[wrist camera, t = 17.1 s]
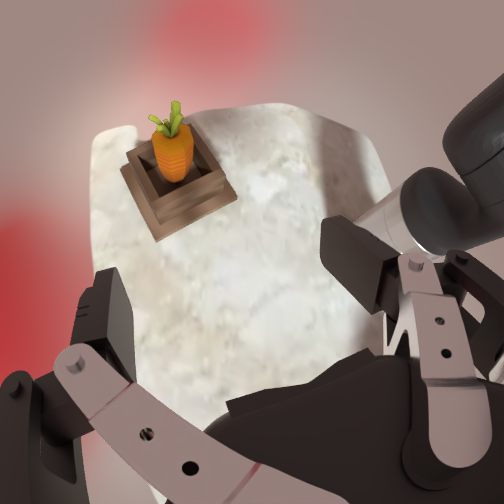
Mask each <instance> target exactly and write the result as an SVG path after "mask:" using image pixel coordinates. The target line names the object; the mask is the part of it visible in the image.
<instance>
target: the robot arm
mask: <svg viewBox="0 0 504 504" xmlns="http://www.w3.org/2000/svg"><path fill="white" fill-rule="evenodd" d="M442 143H443V148H444V151H445V153H446V155H447V157H448V159H449V161H450V162H451V164H452V166H453V167H454V169H455V170H456V172H457V173H458V175H460V177H461V179H462V180H463V182H464V183H465V185H466V186H465V185H463V184H462V183H460V182H459V181H457V180H456V179H455V178H454V177H452V176H451V175H449V174H448V173H446V172H445V171H443V170H441V169H437V168H434V167H426V168H423V169H420V170H418V171H417V172H415V173H414V174H413V175H412V176H410V177H409V178H408V179H407V180H406V181H404V182H403V183H402V184H401V185H399V186H398V187H397V188H396V189H394V190H393V191H392V192H391V193H389V194H388V195H387V196H386V197H384V198H383V199H382V200H381V201H379V202H378V203H377V204H376V205H374V206H373V207H372V208H370V209H369V210H368V211H367V212H365V213H364V214H363V215H361V216H360V217H359V218H358V219H356V220H355V221H354V222H350V221H349V220H347V219H346V218H344V217H343V216H341V215H339V216H334V217H330V218H325V219H323V220H322V223H321V238H320V258H321V262H322V264H323V266H324V267H325V268H326V269H327V270H328V271H329V272H330V273H331V274H332V275H333V276H334V277H335V278H336V279H337V280H338V281H339V282H340V283H341V284H342V285H343V286H344V287H345V288H346V289H347V290H348V291H349V292H350V293H351V294H352V295H353V296H354V297H355V299H356V300H357V301H358V302H359V303H360V304H361V305H362V306H363V307H364V308H365V309H366V310H367V311H368V312H369V313H370V314H371V315H373V314H375V313H377V312H379V311H382V310H384V311H385V313H384V317H383V355H380V356H374V355H373V354H372V352H371V351H370V350H369V349H368V348H366V349H364V350H362V351H359V352H357V353H355V354H353V355H351V356H349V357H346V358H344V359H342V360H340V361H337V362H336V363H335V364H334V365H332V366H331V367H330V368H328V369H327V370H326V371H324V372H323V373H322V374H320V375H319V376H317V377H316V378H315V379H313V380H312V381H310V382H309V383H306V384H301V385H295V386H288V387H280V388H272V389H264V390H261V391H258V392H255V393H252V394H249V395H245V396H242V397H239V398H235V399H232V400H229V401H225V402H226V405H227V408H228V411H229V412H228V413H226V414H224V415H222V416H221V417H219V418H218V419H216V420H215V421H214V422H212V423H211V424H210V425H209V426H208V427H207V428H206V429H205V430H204V431H203V432H202V431H201V430H199V429H198V428H196V427H195V426H193V425H192V424H190V423H189V422H187V421H186V420H185V419H183V418H182V417H180V416H179V415H178V414H176V413H175V412H173V411H172V410H171V409H169V408H168V407H167V406H165V405H164V404H163V403H161V402H160V401H159V400H157V399H156V398H155V397H154V396H152V395H151V394H150V393H149V392H147V391H146V390H145V389H144V388H142V387H141V386H140V385H139V384H137V379H136V366H135V350H134V325H133V311H132V307H131V304H130V301H129V298H128V296H127V293H126V291H125V288H124V285H123V283H122V280H121V277H120V275H119V272H118V270H117V268H116V267H113V268H109V269H105V270H101V271H97V272H96V274H95V279H94V284H93V287H89V288H87V289H86V290H85V291H84V293H83V294H82V296H81V297H80V299H79V303H78V307H77V308H78V310H77V312H76V318H75V321H74V327H73V331H72V337H71V342H70V346H69V347H67V348H66V349H64V350H63V351H62V352H61V353H60V354H59V355H58V357H57V358H56V360H55V363H54V371H52V372H50V373H48V374H46V375H44V376H42V377H39V378H37V379H35V380H34V379H33V378H32V377H31V376H30V375H29V374H28V373H27V372H26V371H16V372H13V373H11V374H10V375H9V376H8V377H7V378H6V379H5V380H4V381H3V383H2V385H1V387H0V504H90V503H89V497H88V493H87V486H86V480H85V473H84V465H83V457H82V447H81V436H82V435H85V434H87V433H89V432H91V431H93V430H96V431H97V432H98V433H99V434H100V436H101V437H102V438H103V439H104V440H105V441H106V442H107V443H108V444H109V445H110V446H111V448H112V449H113V450H114V451H115V452H116V453H117V454H118V455H119V456H120V457H121V458H122V459H123V460H124V461H125V462H126V463H127V464H128V465H129V466H131V467H132V468H133V469H134V470H135V471H136V472H137V473H138V474H139V475H140V476H142V477H143V478H144V479H145V480H146V481H147V482H148V483H149V484H150V485H152V486H153V487H154V488H155V489H156V490H158V491H159V492H160V493H161V494H163V495H164V496H165V497H166V498H168V499H167V501H166V503H165V504H504V280H503V279H502V278H500V277H499V276H498V275H497V274H495V273H494V272H492V270H490V269H489V268H488V267H486V266H485V265H484V264H482V263H481V262H480V261H478V260H477V259H476V258H474V257H473V256H472V255H470V254H469V253H467V252H465V251H466V250H468V249H471V248H474V247H476V246H479V245H482V244H485V243H488V242H490V241H493V240H496V239H499V238H502V237H504V73H503V74H502V75H501V76H500V77H499V78H497V79H496V80H495V81H494V82H493V83H492V84H491V85H489V86H488V87H487V88H486V89H485V90H484V91H482V92H481V93H480V94H479V95H478V96H477V97H475V98H474V99H473V100H472V101H471V102H470V103H469V104H468V105H467V106H466V107H464V108H463V109H462V110H461V111H460V112H459V113H458V114H457V116H455V118H454V119H453V120H452V121H451V123H450V124H449V126H448V127H447V129H446V131H445V133H444V137H443V142H442ZM444 255H446V256H445V260H444V262H443V263H432V260H434V259H437V258H439V257H442V256H444ZM467 291H468V292H469V293H470V294H471V295H472V296H474V297H475V298H476V299H477V300H478V301H479V302H480V303H481V304H482V305H483V307H484V310H485V315H484V318H483V320H482V322H481V324H480V323H479V322H478V321H477V320H476V319H475V318H474V317H473V316H472V315H471V314H470V313H468V312H467V311H466V310H465V309H464V308H463V307H462V303H463V301H464V298H465V296H466V293H467ZM474 366H475V367H476V368H477V369H478V370H479V371H480V373H481V374H482V375H483V376H484V377H485V378H486V380H485V379H481V378H477V377H476V374H475V369H474ZM40 438H41V449H40Z"/></svg>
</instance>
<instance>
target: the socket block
mask: <svg viewBox="0 0 504 504" xmlns="http://www.w3.org/2000/svg"><path fill="white" fill-rule="evenodd" d="M187 126H189V128H190V131H191V134H192V137H193V140H194V147H193V160H192V163H191V166H190V169H189V172H188V173H187V175H186V176H185V178H184V179H183V181H182V182H181V183H178V184H175V183H173V182H170V181H168V180H167V179H166V178H165V177H164V176H163V174H162V172H161V171H160V169H159V166H158V163H157V159H156V155H155V151H154V147H153V143H152V140H151V141H149V142H147V143H145V144H143V145H141V146H139V147H137V148H134V149H132V150H130V151H128V152H126V155H127V158H128V161H129V164H128V165H126V166H124V167H123V168H121V169H120V171H121V173H122V175H123V177H124V180H125V182H126V184H127V186H128V188H129V190H130V192H131V194H132V196H133V198H134V200H135V202H136V204H137V206H138V208H139V210H140V212H141V214H142V216H143V218H144V220H145V222H146V224H147V226H148V228H149V230H150V232H151V233H152V235H153V237H154V239H155V241H156V242H158V241H160V240H162V239H164V238H165V237H167V236H169V235H171V234H173V233H174V232H176V231H178V230H180V229H182V228H184V227H185V226H187V225H189V224H191V223H193V222H195V221H197V220H198V219H200V218H202V217H204V216H206V215H208V214H210V213H212V212H214V211H216V210H218V209H219V208H221V207H223V206H225V205H227V204H229V203H231V202H233V201H235V200H237V197H238V196H237V195H236V193H235V192H234V190H233V189H232V187H231V186H230V184H229V183H228V181H227V180H226V179H225V177H226V174H225V173H224V171H223V170H222V168H221V167H220V166H219V164H218V163H217V161H216V160H215V158H214V157H213V155H212V154H211V152H210V151H209V149H208V148H207V146H206V145H205V144H204V142H203V141H202V139H201V138H200V136H199V135H198V133H197V132H196V131H195V129H194V128H193V126H192V125H191V124H188V125H187Z"/></svg>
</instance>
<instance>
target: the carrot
mask: <svg viewBox="0 0 504 504" xmlns="http://www.w3.org/2000/svg"><path fill="white" fill-rule="evenodd" d="M171 110H172V112H171V113H170V123H169V122H168V120H167V119H165V120H164V123H165V124H163V123H162V122H161V121H160V120H159V119H158V118H157V117H155V116H153V115H149V119H150V120H152V121H153V122H155V123H156V124H157V125H159V126H157V130H156V131H155V133H154V134H153V135H152V143H153V147H154V151H155V155H156V159H157V163H158V166H159V169H160V171H161V172H162V174H163V176H164V177H165V178H166V179H167V180H168V181H170V182H173V183H175V184H178V183H181V182H182V181H183V179H184V178H185V176H186V175H187V173H188V172H189V169H190V166H191V163H192V160H193V147H194V140H193V137H192V134H191V131H190V128H189V126H187V125H185V124H182V123H181V122H182V120H183V118H184V117H183V115H182V114H180V103H179V102H178V101H173V102H171Z"/></svg>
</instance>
